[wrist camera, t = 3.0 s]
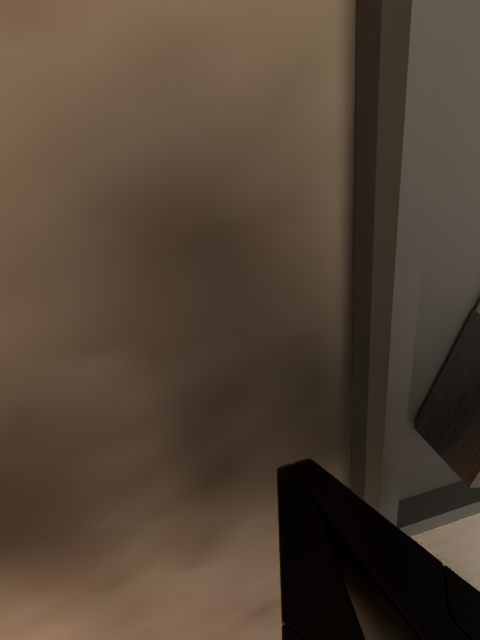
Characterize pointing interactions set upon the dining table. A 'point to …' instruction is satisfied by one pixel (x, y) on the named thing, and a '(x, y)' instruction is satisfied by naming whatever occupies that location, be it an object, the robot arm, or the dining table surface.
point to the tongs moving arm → (457, 407)
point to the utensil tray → (412, 245)
